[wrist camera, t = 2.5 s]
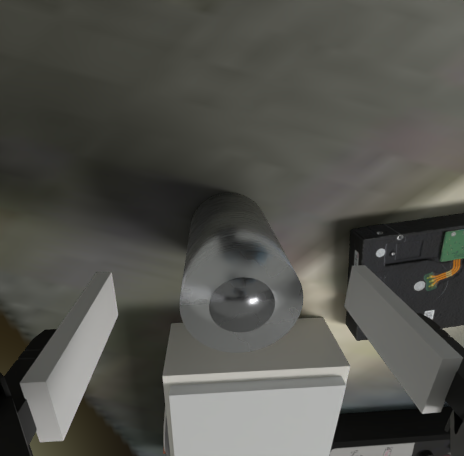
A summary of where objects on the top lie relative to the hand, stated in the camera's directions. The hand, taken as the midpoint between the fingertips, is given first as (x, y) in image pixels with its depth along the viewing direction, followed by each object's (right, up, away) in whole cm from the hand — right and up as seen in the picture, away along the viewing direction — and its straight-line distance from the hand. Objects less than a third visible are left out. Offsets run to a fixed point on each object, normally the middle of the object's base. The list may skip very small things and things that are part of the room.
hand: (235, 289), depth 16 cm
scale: (+1, -13, +14) cm, 19 cm away
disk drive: (+17, 0, +10) cm, 20 cm away
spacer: (0, +3, +7) cm, 8 cm away
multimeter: (+19, -23, +20) cm, 36 cm away
